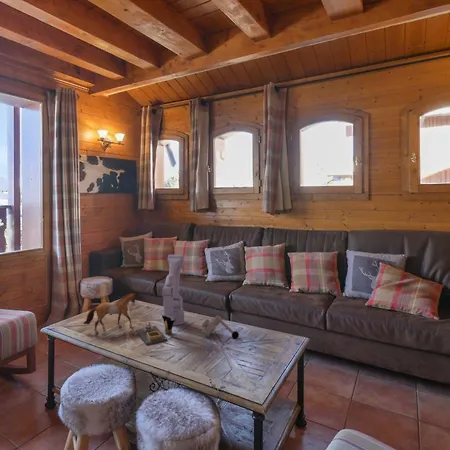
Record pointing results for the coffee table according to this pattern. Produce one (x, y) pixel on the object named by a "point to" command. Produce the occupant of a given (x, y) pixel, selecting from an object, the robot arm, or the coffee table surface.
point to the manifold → (151, 334)
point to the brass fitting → (167, 332)
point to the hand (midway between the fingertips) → (168, 328)
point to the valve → (211, 326)
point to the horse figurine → (111, 310)
